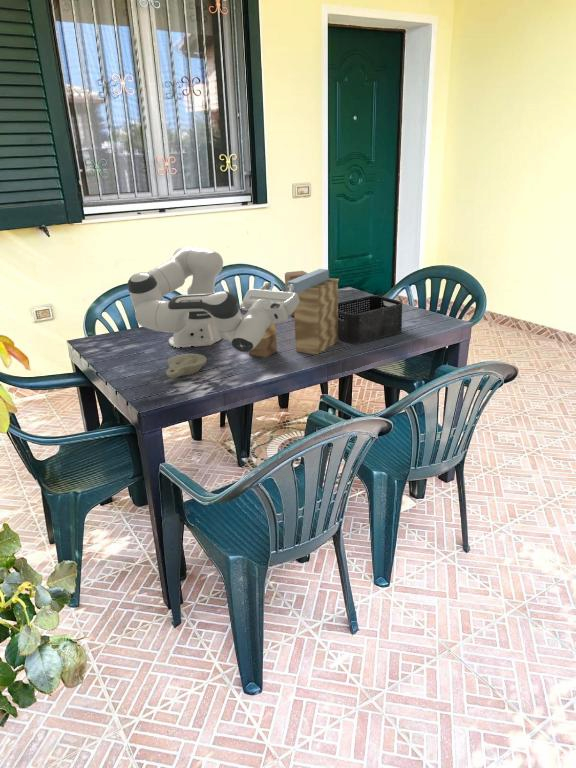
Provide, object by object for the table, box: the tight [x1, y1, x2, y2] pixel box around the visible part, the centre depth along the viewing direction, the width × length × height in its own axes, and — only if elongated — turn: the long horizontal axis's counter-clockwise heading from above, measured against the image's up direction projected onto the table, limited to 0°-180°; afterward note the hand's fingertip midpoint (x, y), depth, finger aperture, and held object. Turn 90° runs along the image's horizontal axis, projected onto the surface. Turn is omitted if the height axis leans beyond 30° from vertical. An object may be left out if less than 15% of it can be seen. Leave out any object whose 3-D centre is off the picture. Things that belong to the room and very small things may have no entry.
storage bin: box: [338, 295, 403, 345], centre depth 244 cm, size 29×19×13 cm
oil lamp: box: [165, 353, 208, 379], centre depth 208 cm, size 21×14×5 cm
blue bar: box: [287, 268, 330, 293], centre depth 218 cm, size 26×4×4 cm, turn 150°
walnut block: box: [248, 332, 278, 358], centre depth 227 cm, size 8×8×8 cm
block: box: [284, 270, 309, 318], centre depth 278 cm, size 10×10×20 cm
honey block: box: [263, 323, 277, 339], centre depth 224 cm, size 8×8×8 cm
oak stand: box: [294, 277, 340, 355], centre depth 229 cm, size 19×11×26 cm, turn 150°
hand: (280, 284), depth 202 cm, fingers open, 8 cm apart
